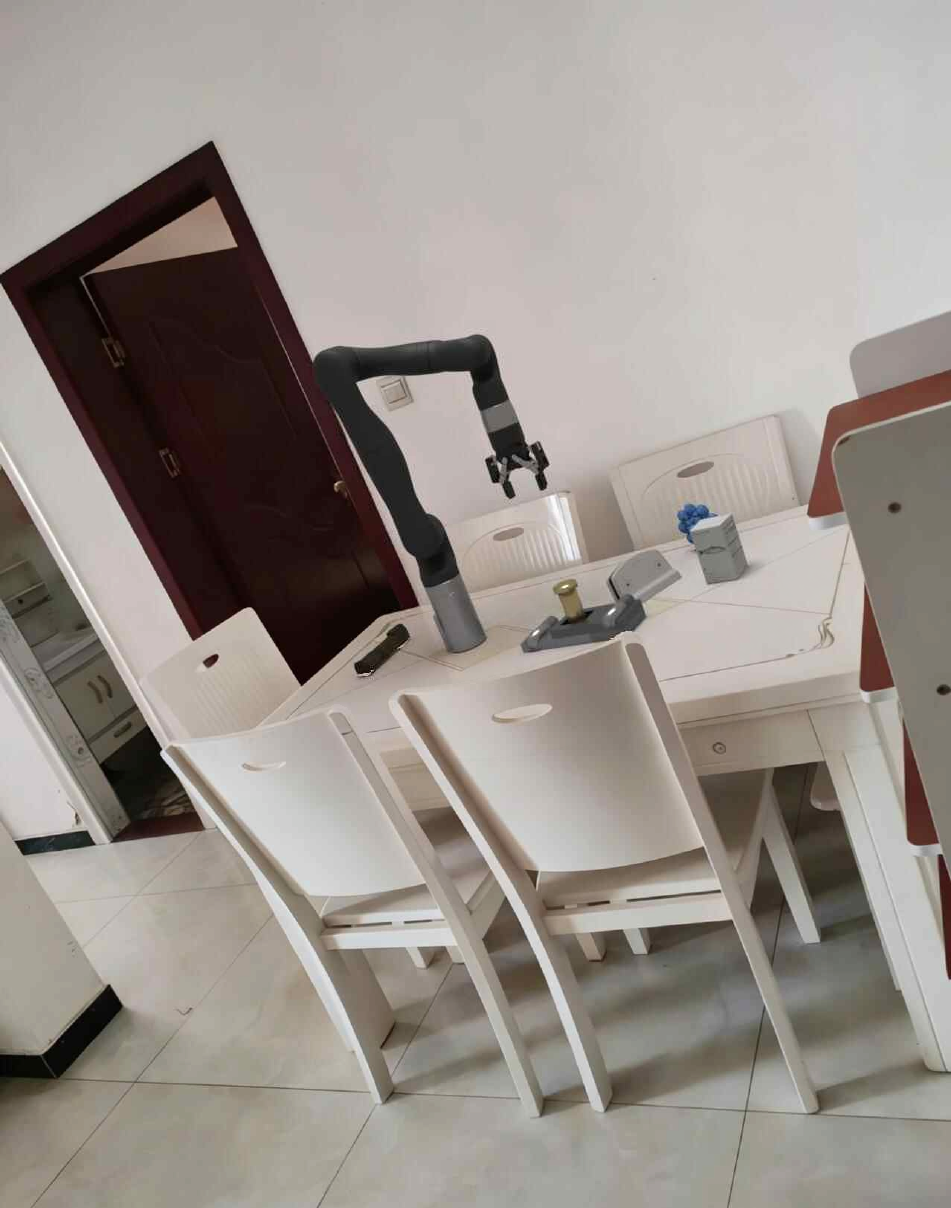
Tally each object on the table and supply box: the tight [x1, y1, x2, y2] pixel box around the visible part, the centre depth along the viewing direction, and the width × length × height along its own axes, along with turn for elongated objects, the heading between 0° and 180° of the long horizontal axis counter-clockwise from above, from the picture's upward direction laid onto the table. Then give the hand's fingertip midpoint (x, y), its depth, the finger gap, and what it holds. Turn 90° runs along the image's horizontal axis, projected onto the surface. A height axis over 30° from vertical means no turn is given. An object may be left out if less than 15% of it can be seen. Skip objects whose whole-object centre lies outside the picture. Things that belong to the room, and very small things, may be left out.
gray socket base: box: [520, 594, 647, 653], centre depth 202 cm, size 26×11×6 cm, turn 57°
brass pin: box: [552, 578, 587, 624], centre depth 201 cm, size 5×5×12 cm
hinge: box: [605, 549, 683, 604], centre depth 212 cm, size 17×5×10 cm, turn 126°
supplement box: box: [690, 513, 749, 585], centre depth 201 cm, size 7×7×13 cm
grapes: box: [676, 503, 719, 545], centre depth 224 cm, size 12×7×12 cm, turn 48°
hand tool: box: [353, 622, 411, 675], centre depth 243 cm, size 23×5×6 cm, turn 150°
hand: (528, 493), depth 210 cm, fingers open, 8 cm apart
